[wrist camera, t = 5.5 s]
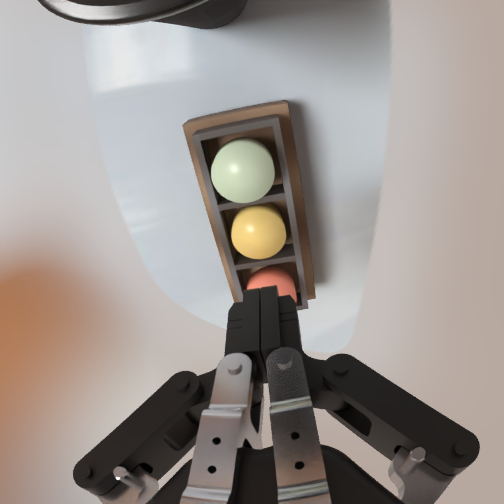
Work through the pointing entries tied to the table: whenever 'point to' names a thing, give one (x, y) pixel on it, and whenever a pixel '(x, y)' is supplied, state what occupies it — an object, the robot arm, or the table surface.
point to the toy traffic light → (280, 195)
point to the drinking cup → (148, 11)
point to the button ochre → (258, 230)
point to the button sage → (243, 170)
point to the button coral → (273, 280)
